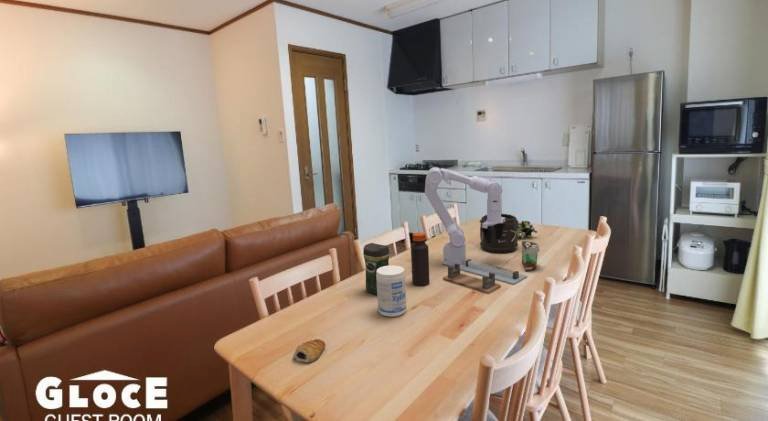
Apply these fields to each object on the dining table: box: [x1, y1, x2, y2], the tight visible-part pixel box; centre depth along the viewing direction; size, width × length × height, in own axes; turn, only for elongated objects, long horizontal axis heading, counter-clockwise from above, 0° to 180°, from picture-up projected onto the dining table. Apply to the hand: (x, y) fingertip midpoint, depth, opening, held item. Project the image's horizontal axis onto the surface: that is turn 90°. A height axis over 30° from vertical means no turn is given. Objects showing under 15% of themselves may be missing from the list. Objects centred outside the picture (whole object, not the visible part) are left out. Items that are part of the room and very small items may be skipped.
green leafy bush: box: [518, 220, 538, 241], centre depth 204 cm, size 11×11×12 cm
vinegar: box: [410, 232, 430, 287], centre depth 151 cm, size 7×7×20 cm
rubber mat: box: [460, 265, 528, 286], centre depth 159 cm, size 26×10×1 cm, turn 42°
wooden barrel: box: [479, 213, 519, 254], centre depth 188 cm, size 18×18×16 cm
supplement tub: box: [376, 264, 407, 318], centre depth 130 cm, size 10×10×15 cm
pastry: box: [292, 338, 326, 363], centre depth 108 cm, size 9×7×4 cm
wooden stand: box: [442, 263, 501, 295], centre depth 150 cm, size 21×8×6 cm, turn 42°
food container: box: [521, 240, 541, 272], centre depth 162 cm, size 12×6×10 cm, turn 168°
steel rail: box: [466, 259, 520, 280], centre depth 159 cm, size 23×2×2 cm, turn 42°
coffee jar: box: [362, 242, 390, 295], centre depth 146 cm, size 10×8×19 cm
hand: (493, 241), depth 167 cm, fingers open, 7 cm apart
